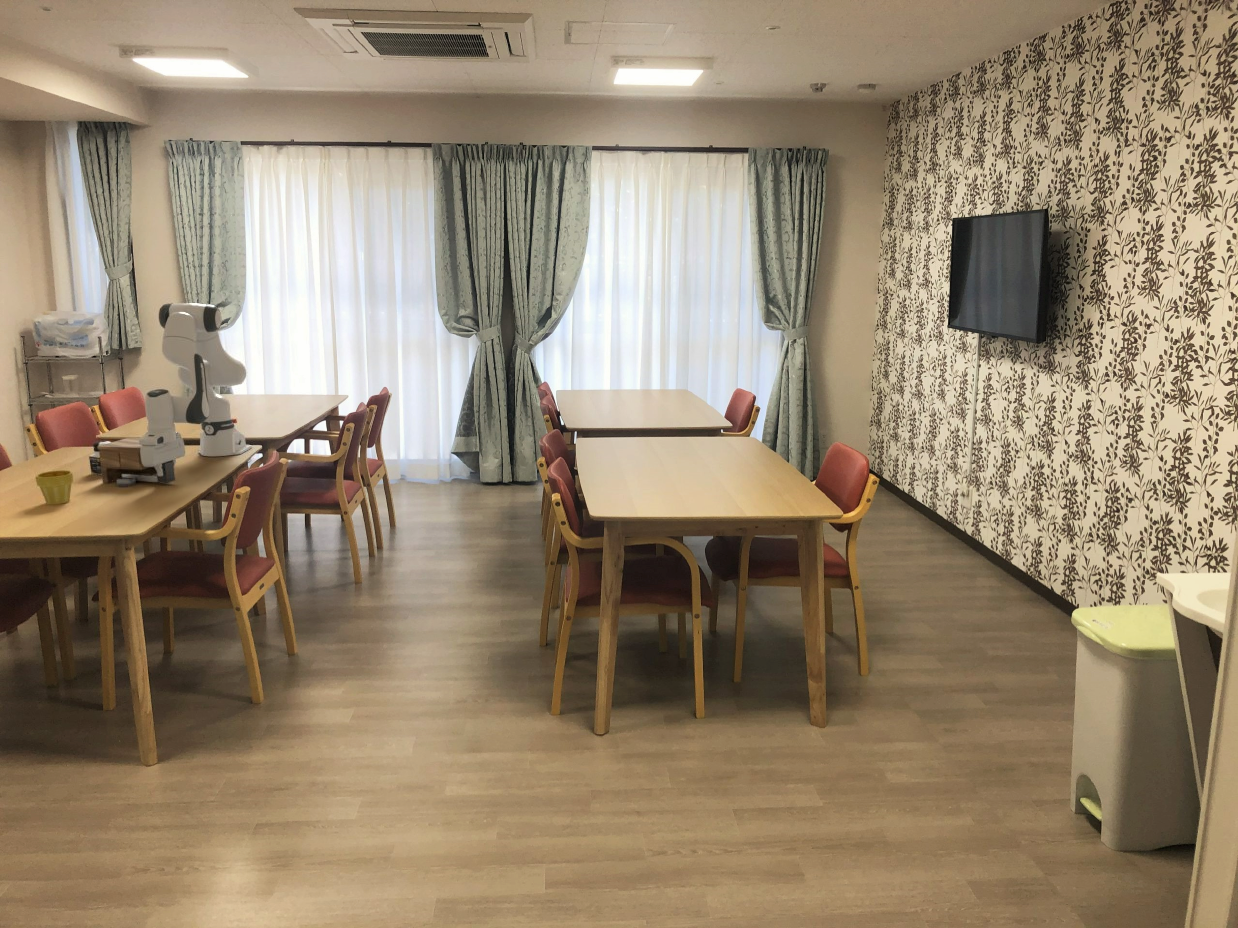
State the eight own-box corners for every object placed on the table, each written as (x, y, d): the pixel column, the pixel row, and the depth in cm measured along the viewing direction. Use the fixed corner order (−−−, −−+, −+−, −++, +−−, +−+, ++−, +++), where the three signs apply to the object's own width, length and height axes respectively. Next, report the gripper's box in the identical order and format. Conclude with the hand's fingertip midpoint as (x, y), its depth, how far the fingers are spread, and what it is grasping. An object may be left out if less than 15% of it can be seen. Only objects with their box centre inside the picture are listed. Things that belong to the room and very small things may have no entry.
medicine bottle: (90, 473, 342) (86, 442, 339) (108, 470, 348) (104, 439, 346) (103, 475, 339) (100, 444, 336) (121, 471, 345) (117, 440, 343)
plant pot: (40, 507, 294) (36, 478, 292) (38, 501, 302) (34, 472, 300) (77, 503, 300) (74, 474, 298) (74, 496, 308) (70, 468, 306)
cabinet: (132, 472, 344) (128, 437, 341) (172, 474, 341) (168, 439, 338) (101, 483, 327) (97, 446, 325) (143, 484, 325) (139, 447, 322)
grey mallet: (131, 476, 332) (128, 458, 331) (175, 480, 327) (173, 461, 326) (122, 479, 329) (120, 460, 327) (167, 482, 323) (164, 463, 322)
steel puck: (125, 482, 328) (124, 476, 328) (139, 483, 327) (139, 476, 327) (113, 486, 323) (112, 479, 322) (128, 487, 321) (127, 480, 321)
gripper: (172, 430, 333) (175, 467, 336) (135, 440, 313) (139, 480, 316) (188, 431, 332) (191, 468, 335) (152, 441, 312) (156, 480, 315)
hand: (166, 474), depth 325 cm, fingers closed on grey mallet, 4 cm apart
